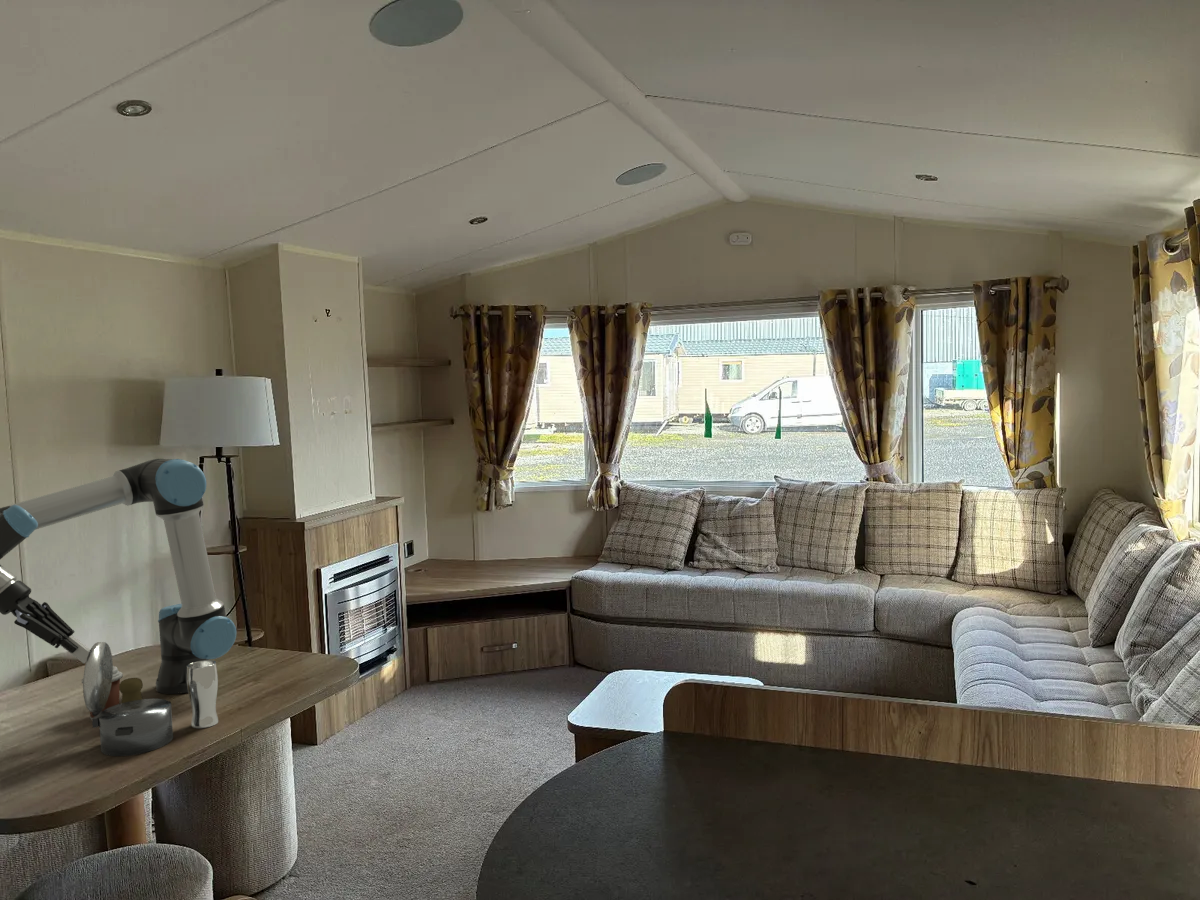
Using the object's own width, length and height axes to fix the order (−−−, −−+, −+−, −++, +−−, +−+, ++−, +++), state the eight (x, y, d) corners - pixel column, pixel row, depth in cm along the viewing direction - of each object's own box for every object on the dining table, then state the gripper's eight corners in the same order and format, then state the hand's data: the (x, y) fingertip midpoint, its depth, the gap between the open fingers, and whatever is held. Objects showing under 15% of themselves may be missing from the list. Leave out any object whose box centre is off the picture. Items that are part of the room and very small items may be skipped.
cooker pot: (82, 763, 199) (80, 728, 199) (112, 732, 218) (109, 699, 218) (160, 755, 202) (158, 720, 202) (182, 725, 221) (180, 693, 221)
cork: (135, 727, 221) (132, 683, 220) (114, 726, 222) (111, 682, 221) (152, 718, 227) (149, 675, 226) (131, 717, 228) (128, 674, 227)
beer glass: (197, 719, 225) (194, 660, 224) (225, 718, 225) (221, 659, 224) (184, 729, 218) (180, 668, 217) (212, 728, 218) (208, 668, 217)
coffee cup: (78, 717, 229) (75, 671, 228) (116, 707, 236) (113, 662, 235) (93, 725, 223) (89, 677, 222) (131, 714, 230) (128, 668, 229)
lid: (89, 724, 201) (78, 724, 200) (113, 701, 216) (103, 701, 216) (88, 652, 200) (77, 653, 200) (112, 634, 215) (102, 634, 215)
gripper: (5, 597, 209) (88, 662, 213) (-23, 610, 196) (66, 679, 200) (29, 573, 210) (111, 638, 214) (3, 585, 197) (90, 653, 201)
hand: (89, 658), depth 207 cm, fingers closed
